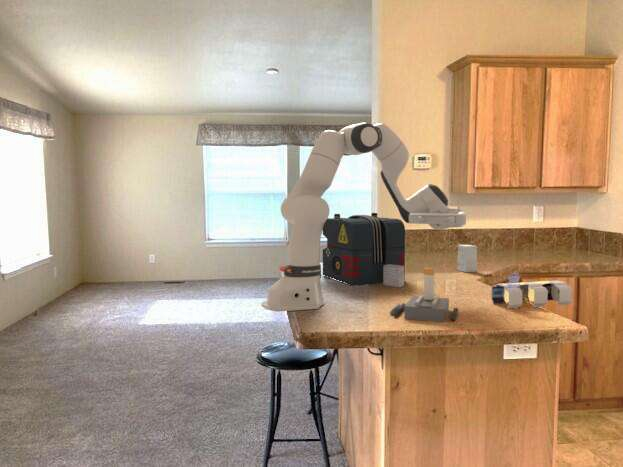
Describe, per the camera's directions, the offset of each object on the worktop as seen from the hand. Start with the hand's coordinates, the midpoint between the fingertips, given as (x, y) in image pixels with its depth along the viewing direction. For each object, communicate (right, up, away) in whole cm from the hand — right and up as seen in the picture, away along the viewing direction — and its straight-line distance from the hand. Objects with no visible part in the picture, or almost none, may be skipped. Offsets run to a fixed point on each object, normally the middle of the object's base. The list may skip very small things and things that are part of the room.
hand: (434, 219), depth 171 cm
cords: (-7, -31, -12) cm, 34 cm away
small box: (+35, -24, +75) cm, 86 cm away
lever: (-4, -27, -9) cm, 28 cm away
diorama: (+34, -30, +2) cm, 46 cm away
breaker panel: (-6, -31, -12) cm, 34 cm away
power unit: (-20, -26, +55) cm, 64 cm away
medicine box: (-8, -27, +37) cm, 47 cm away
